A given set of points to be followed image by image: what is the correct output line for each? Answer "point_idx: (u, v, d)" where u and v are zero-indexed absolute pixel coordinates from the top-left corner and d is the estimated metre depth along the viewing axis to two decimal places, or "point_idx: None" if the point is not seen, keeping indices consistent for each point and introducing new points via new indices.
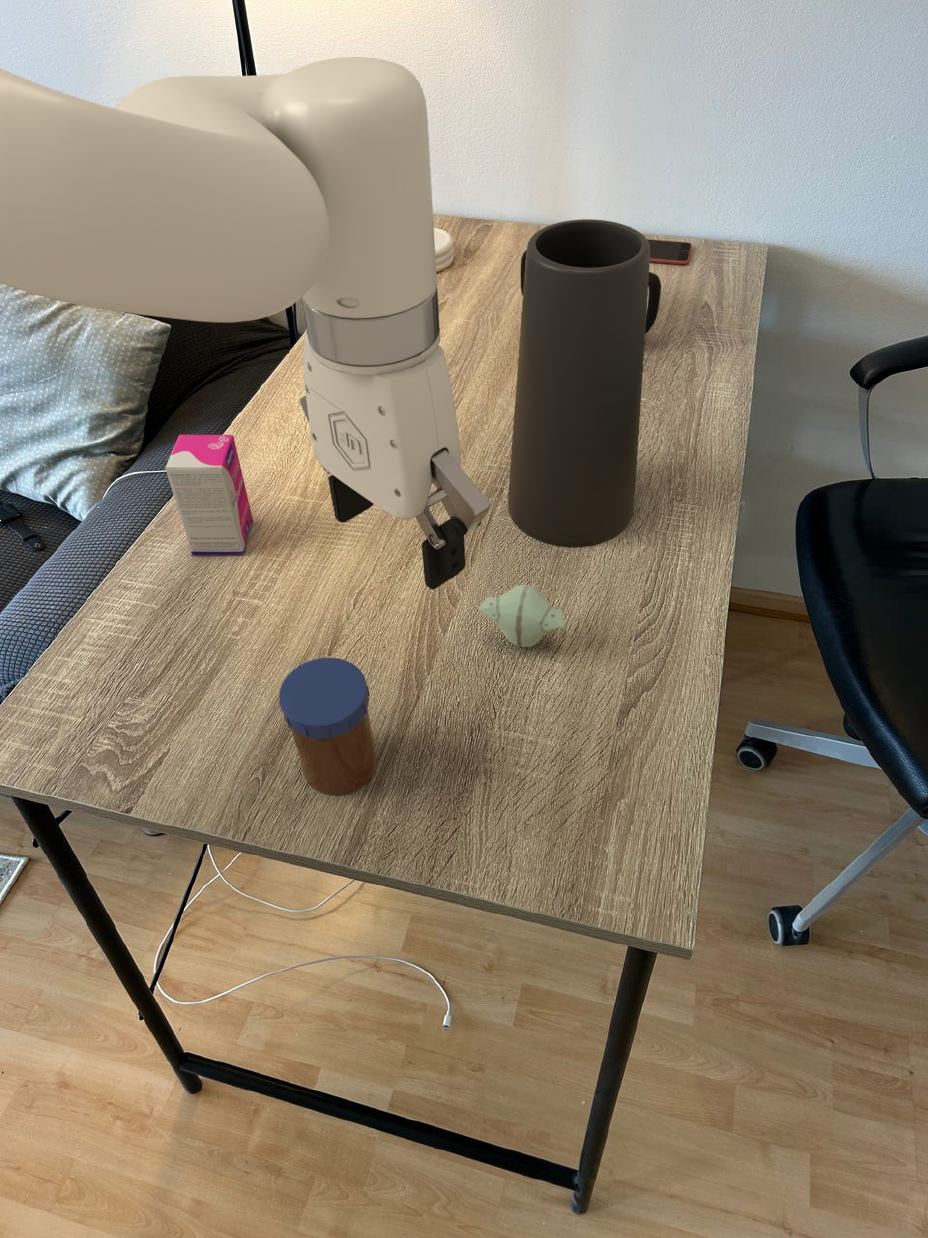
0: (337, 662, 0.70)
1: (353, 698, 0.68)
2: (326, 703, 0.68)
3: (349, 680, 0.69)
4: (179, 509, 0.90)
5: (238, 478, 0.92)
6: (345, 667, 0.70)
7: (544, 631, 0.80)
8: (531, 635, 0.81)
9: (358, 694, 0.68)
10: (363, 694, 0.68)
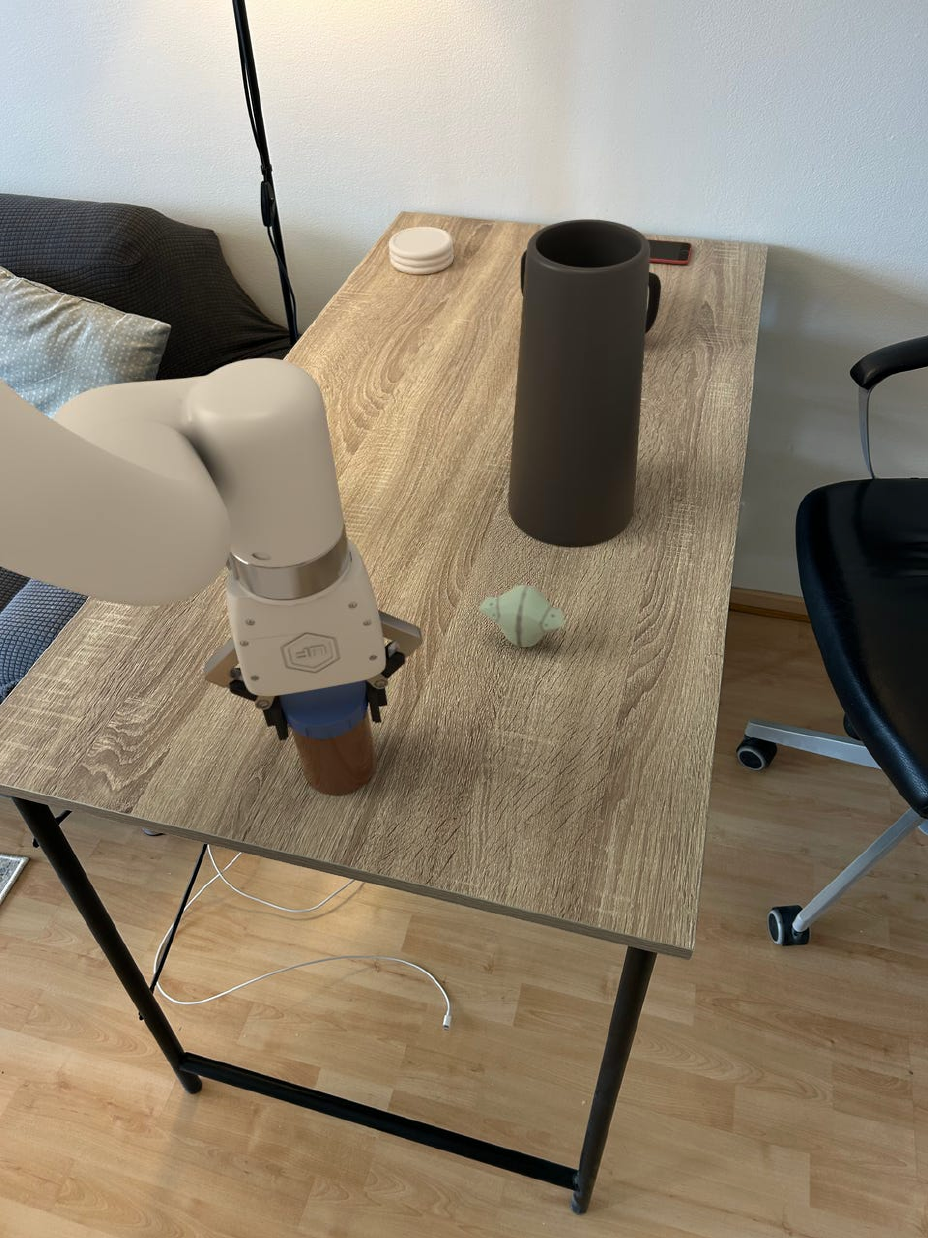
0: None
1: (353, 698, 0.68)
2: (326, 703, 0.68)
3: None
4: None
5: None
6: None
7: (544, 631, 0.80)
8: (531, 635, 0.81)
9: (358, 694, 0.68)
10: (363, 694, 0.68)
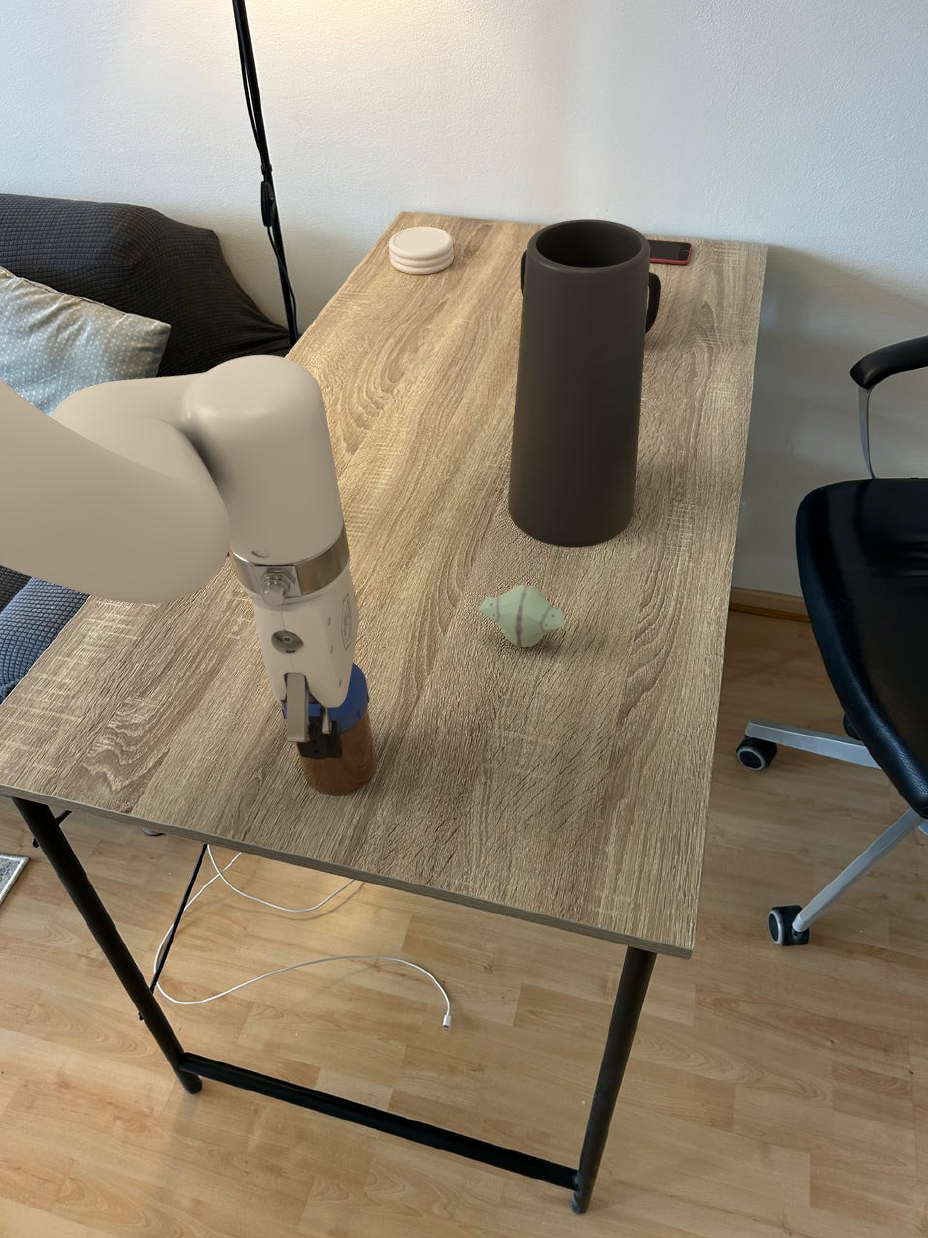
0: None
1: None
2: None
3: None
4: None
5: None
6: None
7: (544, 631, 0.80)
8: (531, 635, 0.81)
9: None
10: None
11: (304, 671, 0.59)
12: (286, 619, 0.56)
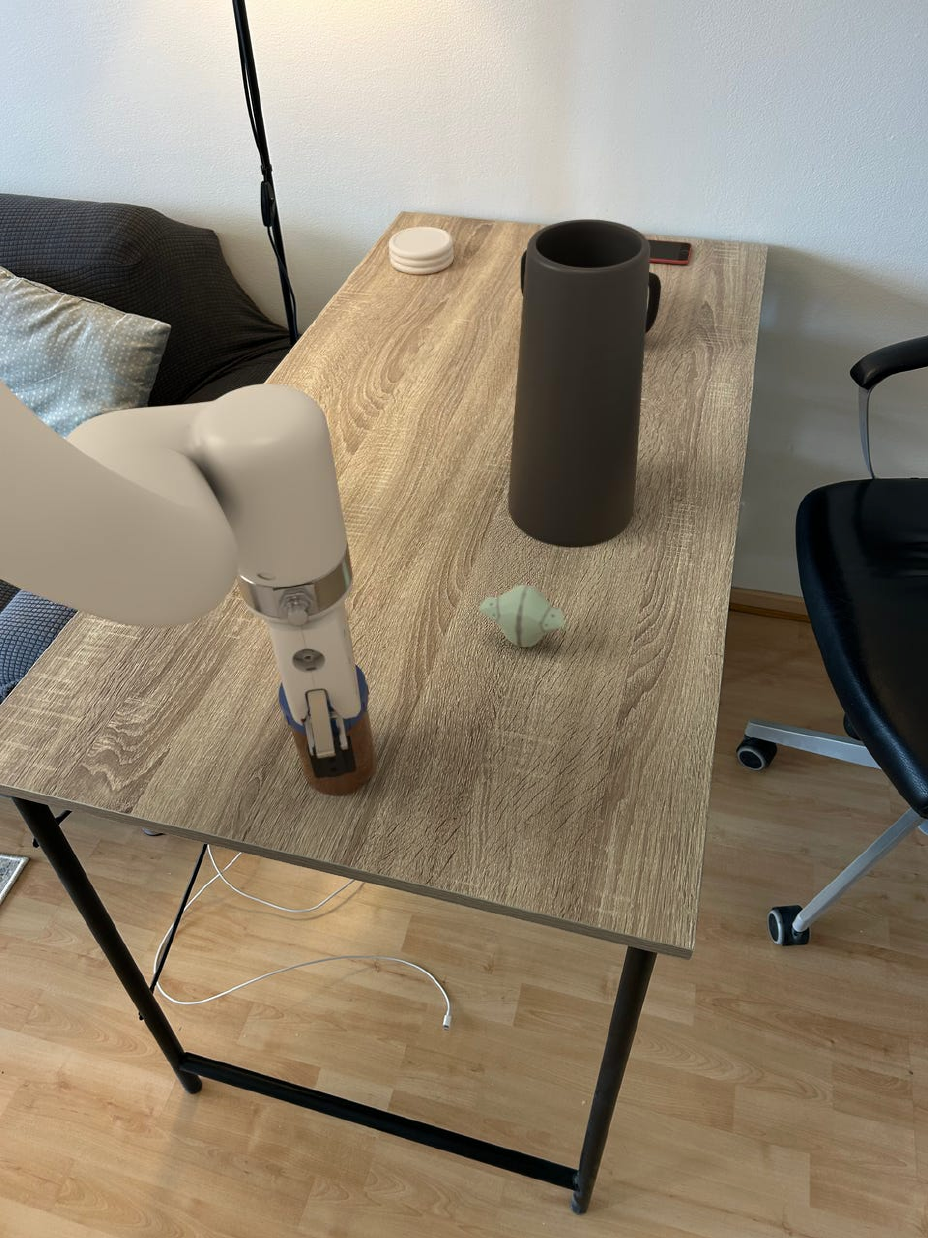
0: None
1: None
2: None
3: None
4: None
5: None
6: None
7: (544, 631, 0.80)
8: (531, 635, 0.81)
9: None
10: None
11: (325, 683, 0.60)
12: (307, 637, 0.58)
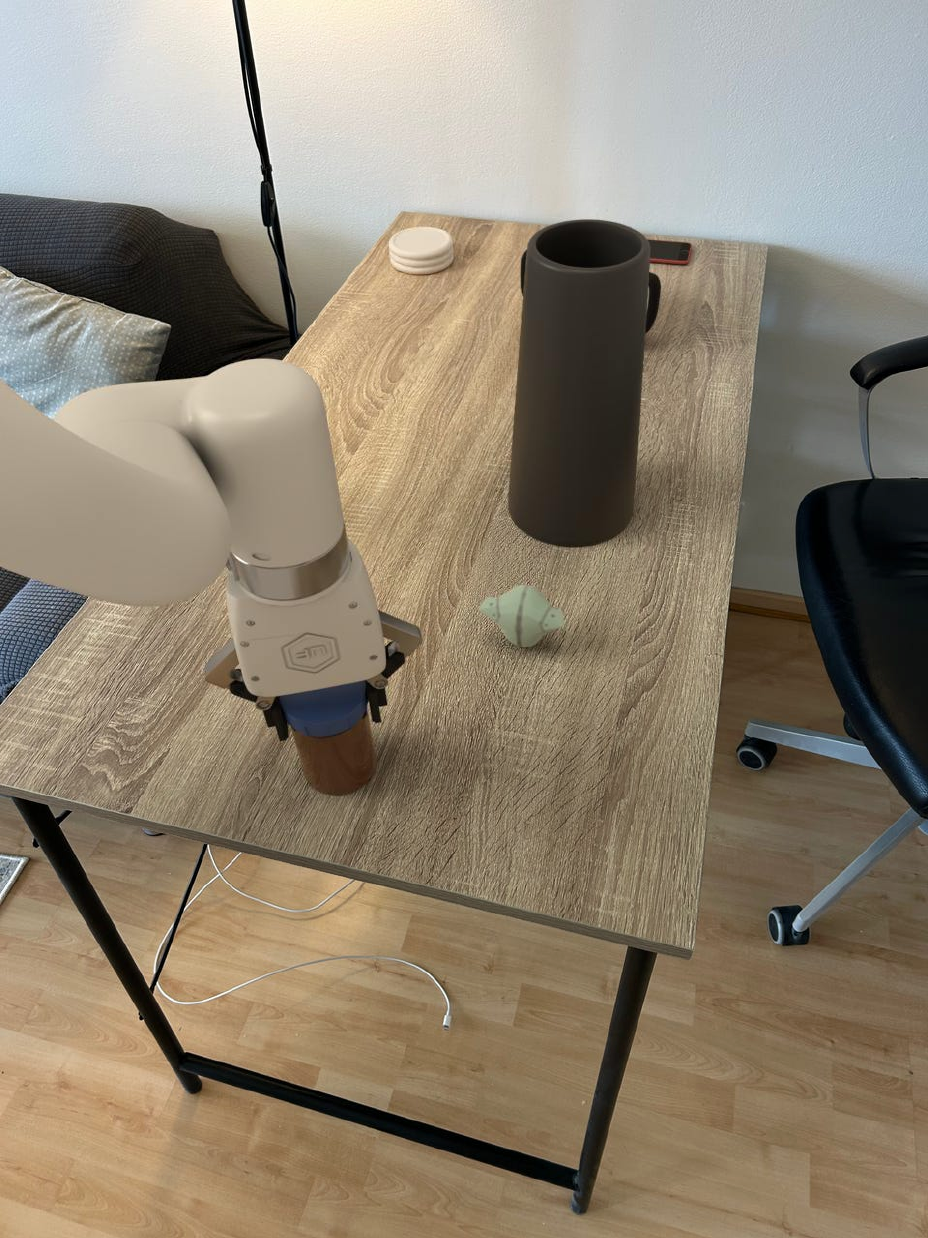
0: None
1: None
2: None
3: None
4: None
5: None
6: None
7: (544, 631, 0.80)
8: (531, 635, 0.81)
9: None
10: None
11: None
12: None
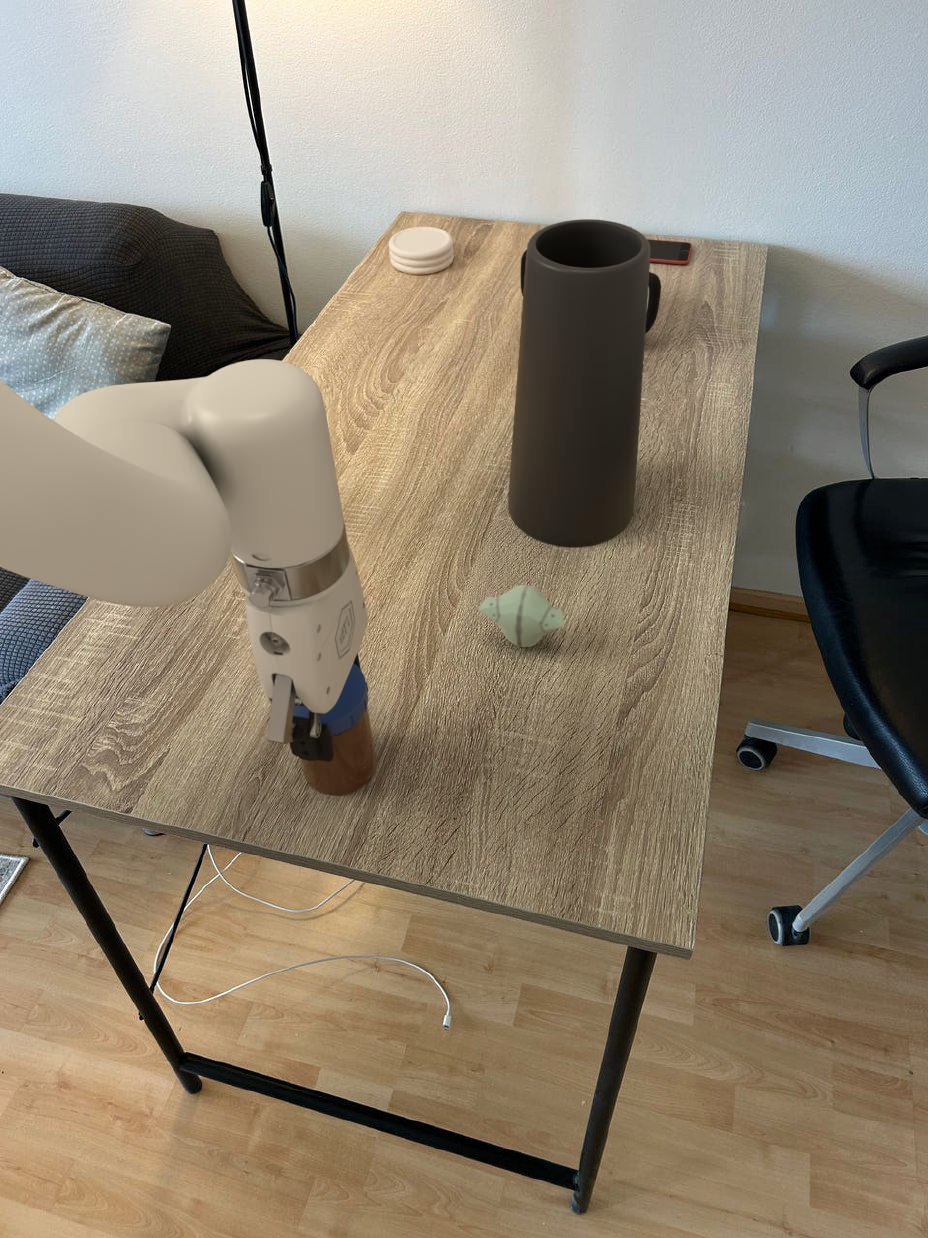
0: None
1: None
2: None
3: None
4: None
5: None
6: None
7: (544, 631, 0.80)
8: (531, 635, 0.81)
9: None
10: None
11: (290, 674, 0.59)
12: (274, 622, 0.56)
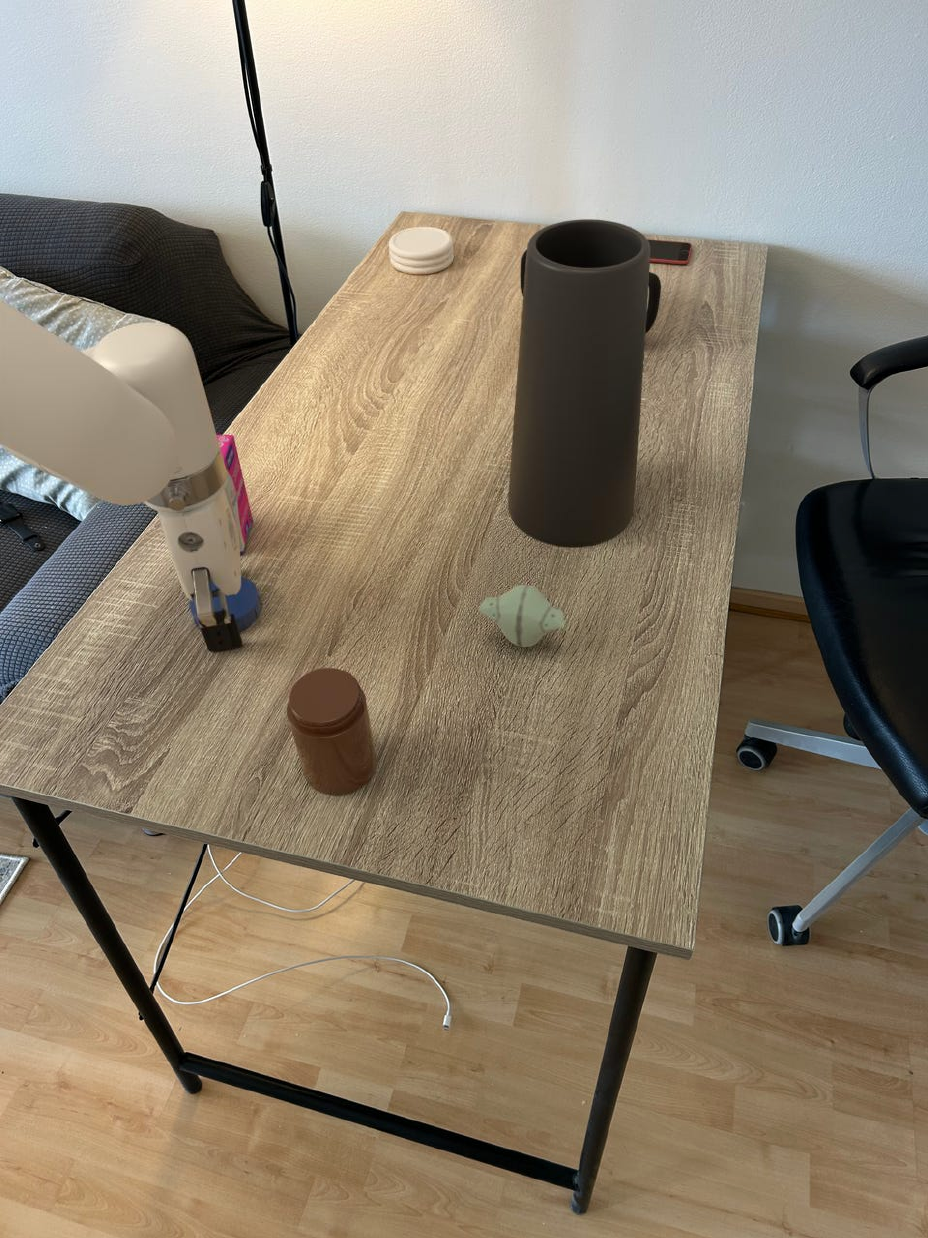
0: None
1: None
2: None
3: None
4: None
5: (238, 478, 0.92)
6: None
7: (544, 631, 0.80)
8: (531, 635, 0.81)
9: None
10: None
11: (205, 560, 0.77)
12: (188, 522, 0.74)
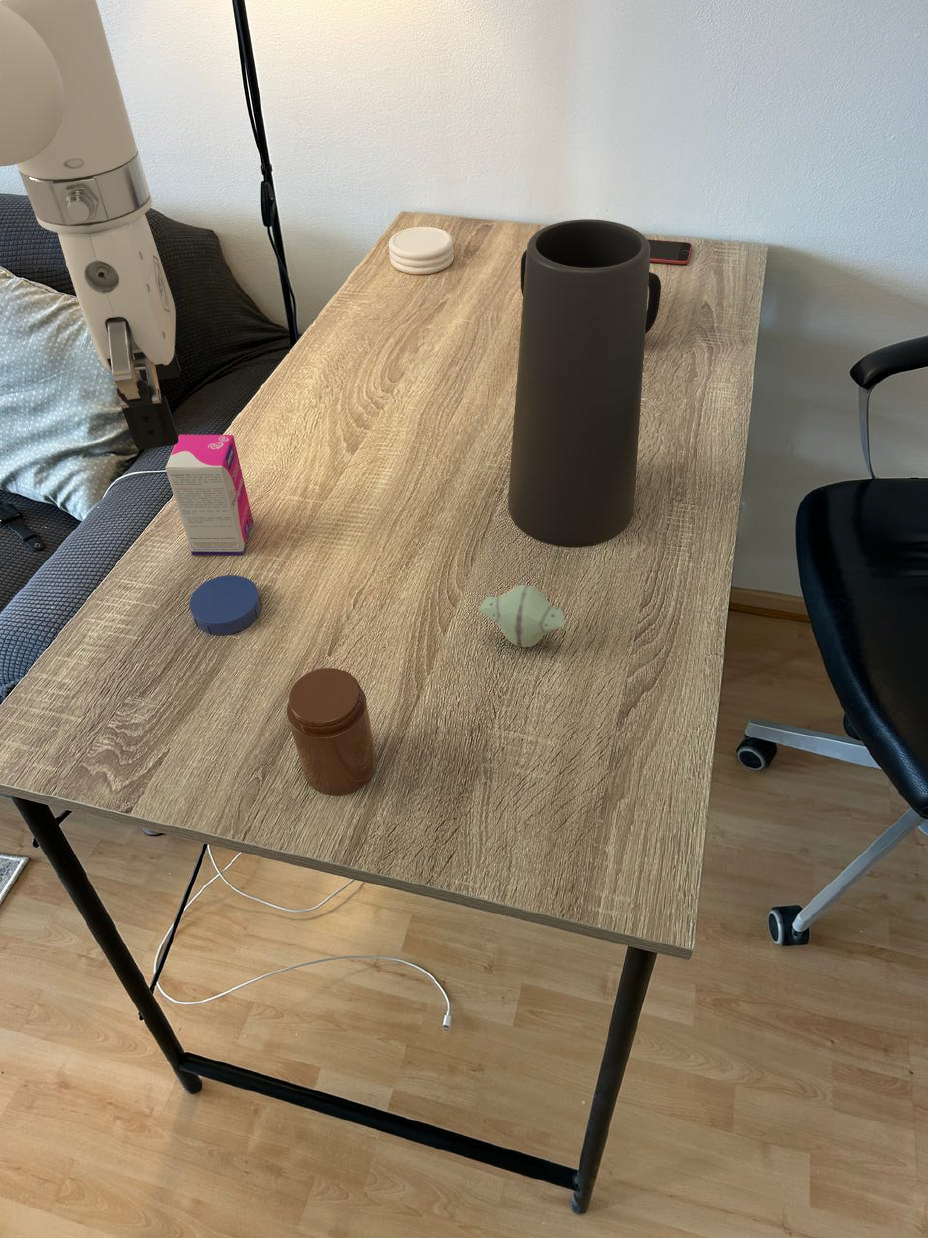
0: (209, 619, 0.86)
1: (201, 592, 0.88)
2: (222, 589, 0.88)
3: (202, 605, 0.87)
4: (179, 509, 0.90)
5: (238, 478, 0.92)
6: (203, 615, 0.86)
7: (544, 631, 0.80)
8: (531, 635, 0.81)
9: (197, 595, 0.88)
10: (193, 595, 0.88)
11: (123, 307, 0.60)
12: (96, 246, 0.58)
